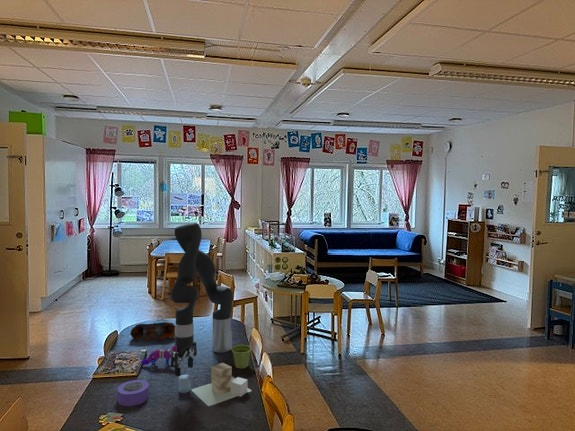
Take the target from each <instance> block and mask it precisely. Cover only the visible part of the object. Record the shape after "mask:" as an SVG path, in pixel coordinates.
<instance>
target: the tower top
mask: <svg viewBox="0 0 575 431" xmlns="http://www.w3.org/2000/svg"><path fill="white" fill-rule="evenodd" d="M232 369H233V368H232V366H231V365H228V364H226V363H224V362H220V363H218V364H216V365H213V366H211V367H210V378H211V381H212V380H214V381H216V382H218V383H220V384H221V383H223V382H225V381H227V380H230V379H232V375H233V374H232V373H233V371H232Z"/></svg>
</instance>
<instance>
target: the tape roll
mask: <svg viewBox="0 0 575 431" xmlns="http://www.w3.org/2000/svg"><path fill="white" fill-rule="evenodd" d="M149 388H150V387H149V382H148V381H146V380H143V379H134V380H133V379H132V380H128V381H126V382H123V383H122V384H120V385H119V386H118V387H117V403H118V404H119V405H120V406H123V407H132V406H133V407H134V406H138V405H140V404H143V403H145V402H146V401H148V400H149V396H150V394H149V393H150V392H149V390H150V389H149Z"/></svg>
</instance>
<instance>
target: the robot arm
mask: <svg viewBox="0 0 575 431" xmlns="http://www.w3.org/2000/svg"><path fill="white" fill-rule="evenodd" d="M174 236H175V240H176V241H177V243H178V245H179V246H180V247H181V249H182V250H183V252H184V254H183V256H181V259H180V261H179V263H178V267H177V276H176V280H175V283H174V285H173V287H172V289H171V292H170V298H171V301H172V302H173V303H175V304H187V305H185V306H183V307H182V306H181V307H180V308H178V309H176V310H175V324H174V325H175V337H174V345H175V346H176V347H177V351H176V352H172V353H171V358H170V365H171V367H170V368H174V376H176V377H179V376H181V375H182V374H181V366H182V364H183V362H184V361H185V359H186V358H187V367H188V368H190V369H193V368H194V359H195V357H196V356H197V353H198V352H197V347H198V346H197V342H196V341H195V340H194V338H195V333H194V331H195V330H194V329H195V328H194V309H195V305H196V302H197V299H198V293H199V292H198V288H197V287H196V286H195V285H190V284H192V283H193V282H194V280H195V272H196V275H197V276H198V278H199V279H200V281H201V283H202V285H203V287H204V289H205V292H206V295H207V297H208V300H209V301H210V302H211V303H212V304H215V305H219V309H215V310H214V311H213V312H212V345H211V346H212V352H214V353H217V354H218V353H220V354H221V353H223V354H224V353H227V352H230V351H231V349H232V348H233V331H232V330H231V317H232V316H231V315H232V314H231V313H232V310H233V291H232V289H231V287H227V286H223V285H218V283H217V281H216V280H215V275H216V271H217V270H216V265H215V264H214V262H213V259H212V258H211V256H209V255H208V254H207V253H206V252H204V251H202V250H200V245H201V243H202V237H203V236H202V229H201V227H200V225H199V224H198V223H197V222H190V223H186V224H182V225H178V226H176V227H175V229H174Z"/></svg>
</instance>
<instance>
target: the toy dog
mask: <svg viewBox="0 0 575 431" xmlns="http://www.w3.org/2000/svg"><path fill="white" fill-rule="evenodd" d="M176 351H177V347H176V346H175V344H174V345H173V346H172V347H171V348H169V349H156V350H153V351H152V352H151V353H150V354H149V355H148V357H147V358H145V359H143V360H142V361H141V364H142V365H146V366H147V365H148V364H150V363H151V365H153V366H154V368H158V365H156V362H157V361H158V360H159V359H165V364H166V365H167V367H169V368H172V367H171V364H170V360H171V353H172V352H176Z"/></svg>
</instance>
